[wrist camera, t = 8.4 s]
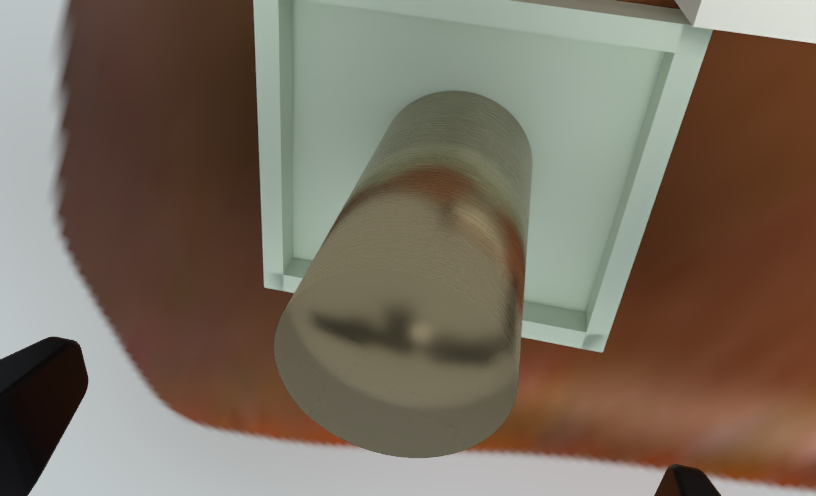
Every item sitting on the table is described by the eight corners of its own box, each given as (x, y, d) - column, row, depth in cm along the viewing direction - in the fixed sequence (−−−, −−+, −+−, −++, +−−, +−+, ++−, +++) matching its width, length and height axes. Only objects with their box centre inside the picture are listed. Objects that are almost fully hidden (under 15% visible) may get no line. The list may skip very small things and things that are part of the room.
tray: (699, 11, 15) (713, 28, 13) (599, 319, 20) (602, 352, 18) (276, -46, 16) (251, -36, 15) (281, 260, 21) (263, 287, 19)
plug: (547, 103, 16) (541, 298, 9) (517, 241, 18) (495, 478, 11) (386, 78, 16) (271, 248, 10) (376, 216, 18) (276, 430, 12)
